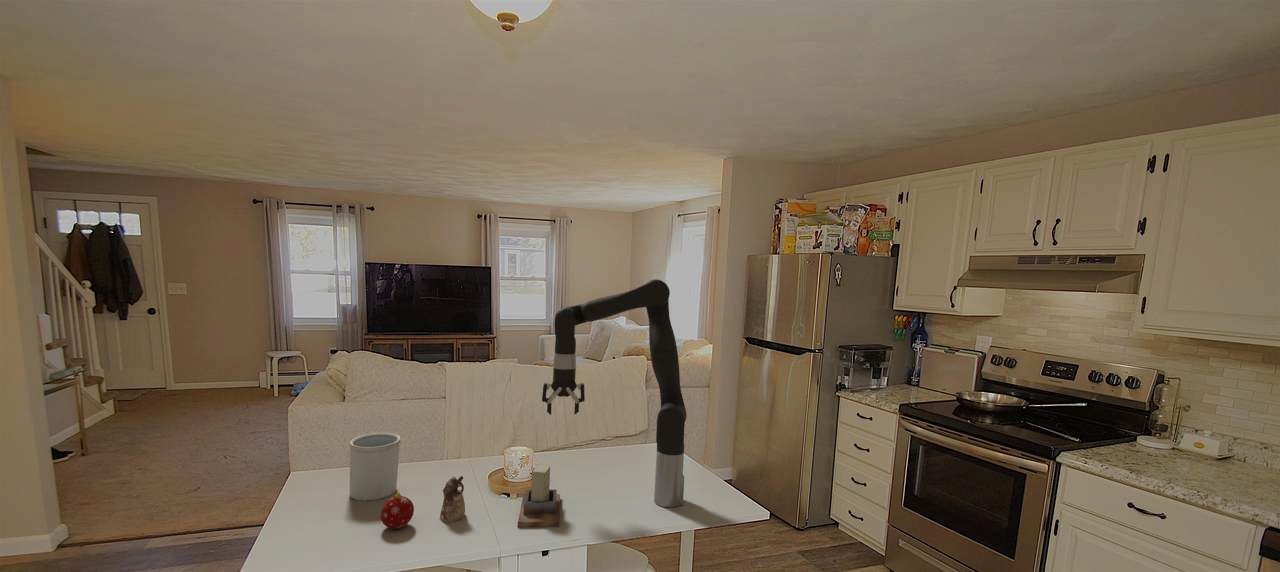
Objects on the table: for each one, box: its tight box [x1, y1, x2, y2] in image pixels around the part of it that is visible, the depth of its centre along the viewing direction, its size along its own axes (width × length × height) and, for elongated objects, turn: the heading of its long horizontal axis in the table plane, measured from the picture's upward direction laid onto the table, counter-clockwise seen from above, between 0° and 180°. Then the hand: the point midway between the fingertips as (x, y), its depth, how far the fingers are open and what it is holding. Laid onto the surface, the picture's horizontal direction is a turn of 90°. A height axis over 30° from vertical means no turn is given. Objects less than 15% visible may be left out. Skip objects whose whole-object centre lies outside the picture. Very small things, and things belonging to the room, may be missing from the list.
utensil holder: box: [349, 432, 402, 502], centre depth 166 cm, size 15×15×18 cm
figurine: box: [439, 475, 466, 523], centre depth 152 cm, size 7×7×12 cm
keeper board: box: [517, 493, 561, 528], centre depth 158 cm, size 12×19×2 cm, turn 8°
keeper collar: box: [523, 489, 558, 515], centre depth 158 cm, size 10×10×4 cm
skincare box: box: [530, 464, 551, 502], centre depth 158 cm, size 6×4×12 cm
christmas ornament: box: [380, 491, 415, 530], centre depth 145 cm, size 9×9×10 cm
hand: (562, 414), depth 171 cm, fingers open, 8 cm apart
